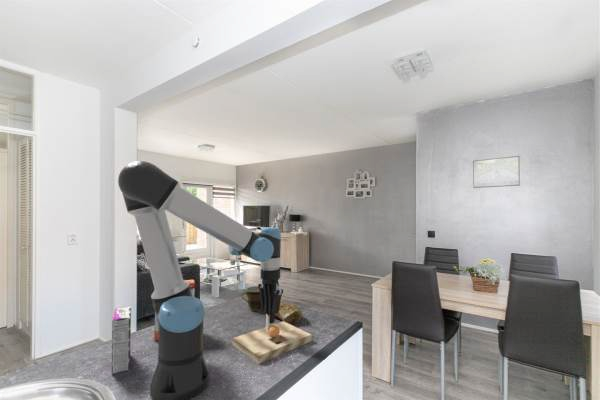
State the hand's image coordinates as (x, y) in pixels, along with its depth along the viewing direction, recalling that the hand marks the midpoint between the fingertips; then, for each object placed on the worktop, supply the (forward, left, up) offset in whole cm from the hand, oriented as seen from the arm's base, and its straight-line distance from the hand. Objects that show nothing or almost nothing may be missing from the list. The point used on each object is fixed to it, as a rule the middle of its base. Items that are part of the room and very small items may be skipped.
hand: (269, 330), depth 108 cm
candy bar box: (-45, +19, -4) cm, 49 cm away
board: (0, -2, -4) cm, 4 cm away
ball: (0, -3, +1) cm, 3 cm away
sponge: (+19, +16, -4) cm, 25 cm away
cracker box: (-25, +29, -4) cm, 38 cm away
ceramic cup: (+14, +33, -4) cm, 36 cm away
